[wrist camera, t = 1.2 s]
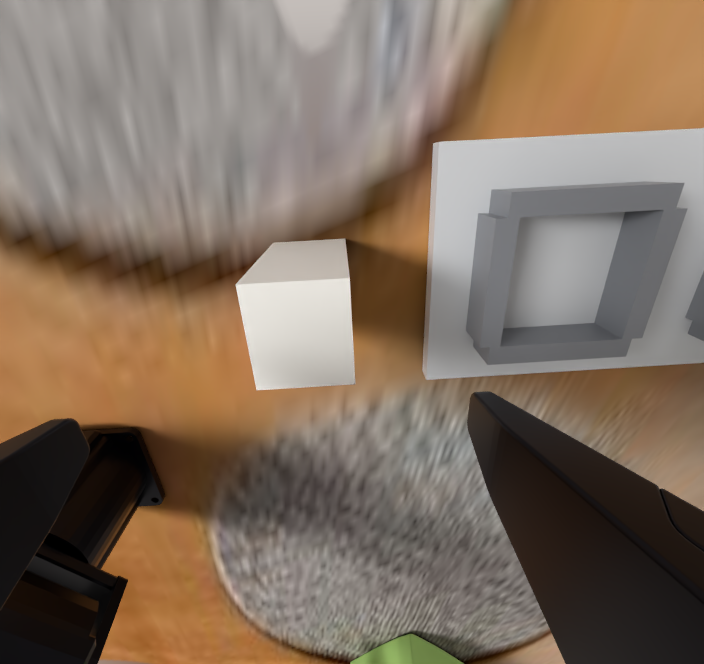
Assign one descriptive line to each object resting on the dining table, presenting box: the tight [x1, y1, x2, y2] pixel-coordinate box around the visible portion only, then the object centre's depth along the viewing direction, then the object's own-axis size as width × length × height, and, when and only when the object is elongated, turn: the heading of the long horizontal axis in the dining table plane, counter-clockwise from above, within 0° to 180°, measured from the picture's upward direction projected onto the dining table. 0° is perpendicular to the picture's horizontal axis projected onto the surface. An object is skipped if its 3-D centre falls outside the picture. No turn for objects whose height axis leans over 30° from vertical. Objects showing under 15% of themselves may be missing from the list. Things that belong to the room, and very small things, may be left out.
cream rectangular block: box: [236, 239, 355, 390], centre depth 15 cm, size 4×4×7 cm
